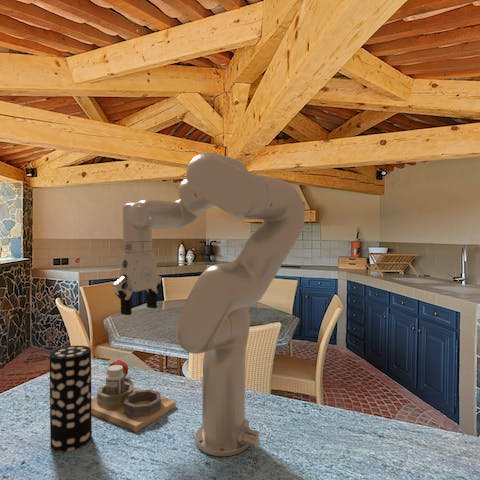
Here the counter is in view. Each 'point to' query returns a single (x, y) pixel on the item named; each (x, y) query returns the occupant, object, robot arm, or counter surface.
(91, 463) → the counter surface
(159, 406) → the socket board
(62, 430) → the spotted tube
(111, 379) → the pill bottle
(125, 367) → the decorative stone
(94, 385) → the counter surface
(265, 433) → the counter surface
